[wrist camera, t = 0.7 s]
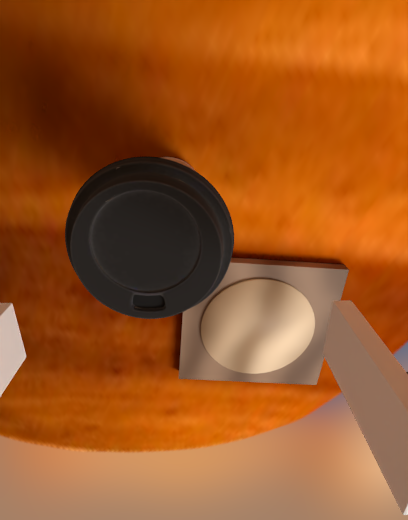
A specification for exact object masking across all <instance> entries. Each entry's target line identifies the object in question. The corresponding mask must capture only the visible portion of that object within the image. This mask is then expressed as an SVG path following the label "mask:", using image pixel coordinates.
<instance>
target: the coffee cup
mask: <svg viewBox="0 0 408 520" xmlns="http://www.w3.org/2000/svg"><path fill="white" fill-rule="evenodd" d="M65 241H66V248H67V252H68V256H69V259H70V262H71V264H72V266H73V268H74V270H75V272H76V274H77V275H78V277H79V279H80V280H81V282H82V283H83V285H84V286H85V287H86V289H87V290H88V291H89V292H90V293H91V294H92V295H93V296H94V297H95V298H96V299H97V300H98V301H100V302H101V303H102V304H104V305H106V306H107V307H109V308H111V309H112V310H115V311H117V312H119V313H122V314H125V315H128V316H132V317H137V318H146V319H156V318H164V317H169V316H173V315H176V314H179V313H182V312H184V311H186V310H188V309H190V308H192V307H194V306H196V305H197V304H199V303H200V302H202V301H203V300H205V299H206V298H207V297H208V296H209V295H211V294H212V293H213V292H214V290H215V289H216V288H217V287H218V286H219V284H220V283H221V281H222V280H223V278H224V276H225V274H226V272H227V270H228V267H229V264H230V261H231V257H232V253H233V246H234V231H233V224H232V220H231V217H230V213H229V211H228V208H227V206H226V204H225V202H224V201H223V199H222V197H221V196H220V194H219V193H218V192H217V190H216V189H215V188H214V187H213V186H212V185H211V184H210V183H209V182H208V181H207V180H206V179H205V178H204V177H203V176H201V175H200V174H199V173H197V172H196V171H195V170H194V169H193V168H192V167H191V166H190V165H189V164H188V163H186V162H185V161H183V160H181V159H177V158H174V157H160V158H158V157H133V158H128V159H124V160H120V161H117V162H114V163H112V164H110V165H108V166H106V167H104V168H102V169H101V170H99V171H98V172H96V173H95V174H94V175H93V176H91V177H90V178H89V179H88V180H87V181H86V182H85V183H84V185H83V186H82V187H81V188H80V190H79V191H78V193H77V194H76V196H75V198H74V200H73V203H72V205H71V208H70V210H69V213H68V217H67V221H66V229H65Z"/></svg>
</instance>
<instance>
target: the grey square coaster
mask: <svg viewBox="0 0 408 520" xmlns="http://www.w3.org/2000/svg"><path fill="white" fill-rule="evenodd" d="M348 271H349V269H348V268H347V267H346V266H345V265H344V264H328V263H312V262H296V261H280V260H264V259H248V258H232V257H231V261H230V264H229V267H228V270H227V272H226V274H225V276H224V278H223V280H222V281H221V283H220V284H219V286H218V287H217V288H216V289H215V290H214V292H213V293H212V294H211V295H209V296H208V297H207V298H206V299H205V300H203V301H202V302H200V303H199V304H197V305H196V306H194V307H192V308H190V309H188V310H186V311H184V312H183V318H182V334H181V350H180V367H179V379H198V380H221V381H243V382H265V383H287V384H309V385H316V384H317V381H318V377H319V374H320V370H321V367H322V363H323V360H324V355H323V351H324V346H325V340H326V335H327V330H328V325H329V319H330V314H331V309H332V303H333V301H340V299H341V296H342V292H343V289H344V285H345V282H346V278H347V275H348Z"/></svg>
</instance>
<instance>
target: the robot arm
mask: <svg viewBox="0 0 408 520" xmlns="http://www.w3.org/2000/svg"><path fill="white" fill-rule="evenodd" d="M323 355H324V357H325V359H326V361H327V363H328V365H329V367H330V369H331V371H332V373H333V375H334V377H335V379H336V381H337V383H338V385H339V387H340V389H341V391H342V393H343V395H344V397H345V399H346V401H347V402H348V405H349V407H350V409H351V411H352V413H353V415H354V417H355V419H356V421H357V423H358V425H359V427H360V429H361V431H362V433H363V435H364V437H365V439H366V441H367V443H368V445H369V447H370V449H371V451H372V453H373V455H374V457H375V459H376V461H377V463H378V465H379V467H380V469H381V471H382V473H383V475H384V477H385V479H386V481H387V483H388V485H389V487H390V489H391V491H392V493H393V495H394V497H395V499H396V501H397V504H398V506H399V507H400V510H401V512H402V514H403V515H408V372H405V370H404V369H403V368H402V366H401V365H400V364H399V362H398V361H397V360H396V358H395V357H394V356H393V354H392V353H391V352H390V350H389V349H388V348H387V347H386V345H385V344H384V343H383V341H382V340H381V339H380V337H379V336H378V335H377V334H376V332H375V331H374V330H373V328H372V327H371V326H370V324H369V323H368V322H367V320H366V319H365V318H364V317H363V315H362V314H361V313H360V311H359V310H358V309H357V307H356V306H355V305H354V303H353V302H352V301H333V303H332V309H331V314H330V319H329V325H328V330H327V335H326V340H325V346H324V351H323ZM25 358H26V353H25V349H24V346H23V342H22V338H21V334H20V331H19V327H18V323H17V319H16V316H15V312H14V308H13V304H12V303H0V396H1V395H2V393H3V392H4V390H5V389H6V387H7V386H8V384H9V383H10V381H11V380H12V378H13V376H14V375H15V373H16V372H17V370H18V369H19V367H20V366H21V364H22V363H23V361H24V360H25Z"/></svg>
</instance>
